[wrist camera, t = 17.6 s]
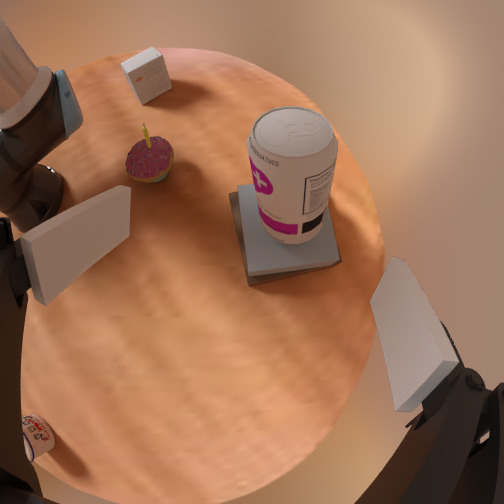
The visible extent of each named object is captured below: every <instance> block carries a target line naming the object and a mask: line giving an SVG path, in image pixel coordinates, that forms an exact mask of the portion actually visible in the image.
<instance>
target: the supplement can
mask: <svg viewBox="0 0 504 504" xmlns="http://www.w3.org/2000/svg"><path fill="white" fill-rule="evenodd" d="M247 147H248V153H249V159H250V164H251V170H252V175H253V181H254V187H255V192H256V198H257V204H258V210H259V215H260V221H261V225H262V227H263V229H264V230H265V232H266V233H267V234H268V235H269V236H270V237H272V238H273V239H274V240H276V241H279V242H282V243H285V244H300V243H303V242H306V241H309V240H311V239H312V238H313V237H314V236H316V235H317V234H318V233H319V231H320V229H321V228H322V226H323V223H324V218H325V214H326V209H327V204H328V200H329V195H330V190H331V185H332V180H333V174H334V169H335V164H336V158H337V152H338V141H337V139H336V137H335V135H334V133H333V129H332V127H331V125H330V123H329V121H328V120H327V119H326V118H325V117H324V116H322V115H321V114H320V113H318V112H316V111H313V110H311V109H308V108H303V107H298V106H283V107H279V108H274V109H271V110H269V111H267V112H265V113H263V114H261V115H260V116H259V117H258V118H257V119H256V120H255V122H254V124H253V127H252V130H251V132H250V134H249V137H248V140H247Z"/></svg>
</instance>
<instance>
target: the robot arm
mask: <svg viewBox="0 0 504 504" xmlns="http://www.w3.org/2000/svg"><path fill="white" fill-rule="evenodd" d="M82 123H83V115H82V112H81V109H80V106H79V103H78V101H77V98H76V96H75V93H74V91H73V88H72V86H71V83H70V81H69V79H68V76H67V74H66V72H65V71H64V70H63V69H62V70H59V71H56V72H55V73H54V74H53V72H52V71H51V69H50V68H48V67H47V66H41V67H35V65H34V64H33V62H32V61H31V60H30V58H29V57H28V56H27V54H26V53H25V51H24V50H23V49H22V47H21V46H20V44H19V43H18V42H17V40H16V39H15V37H14V36H13V34H12V33H11V31H10V30H9V28H8V27H7V25H6V24H5V22H4V21H3V19H2V18H1V16H0V212H2V213H4V214H6V215H7V217H8V218H6V217H1V218H0V504H59V503H56V502H53V501H51V500H48V499H46V498H43V495H42V491H41V488H40V484H39V480H38V477H37V474H36V472H35V469H34V467H33V466H32V464H31V462H30V461H29V459H28V457H27V454H26V450H25V444H24V436H23V427H22V415H21V391H20V378H21V353H22V341H23V331H24V323H25V316H26V309H27V303H28V294H27V290H28V289H29V288H30V287H31V288H32V291H33V294H34V298H35V299H36V300H37V301H39V302H40V303H42V304H44V305H45V306H47V305H48V304H49V303H50V302H51V301H53V300H54V299H55V298H56V297H57V296H58V295H59V294H60V293H61V292H62V291H64V290H65V289H66V288H67V287H68V286H69V285H70V284H71V283H73V282H74V281H75V280H76V279H77V278H78V277H80V276H81V275H82V274H83V273H84V272H85V271H87V270H88V269H89V268H90V267H91V266H93V265H94V264H95V263H96V262H97V261H99V260H100V259H101V258H102V257H104V256H105V255H106V254H107V253H109V252H110V251H111V250H112V249H114V248H115V247H116V246H117V245H119V244H120V243H121V242H123V241H124V240H125V239H127V238H128V237H129V236H130V200H131V187H127V186H122V185H118V186H116V187H114V188H111V189H109V190H107V191H105V192H102V193H100V194H98V195H96V196H94V197H92V198H90V199H88V200H85V201H83V202H81V203H79V204H77V205H75V206H73V207H71V208H69V209H67V210H66V211H64V212H62V213H60V214H58V215H56V213H57V211H58V208H59V206H60V203H61V200H62V195H63V181H62V178H61V176H60V175H59V173H57V172H56V171H55V170H54V169H53V168H51V167H48V166H44V165H41V164H37V163H38V162H39V161H40V160H41V159H43V158H44V157H45V156H46V155H47V154H48V153H50V152H51V151H52V150H53V149H55V148H56V147H57V146H58V145H60V144H61V143H62V142H64V141H65V140H67V139H68V138H69V136H70V135H71V134H73V133H74V132H75V131H76V130H78V129H79V128H80V127H81V125H82ZM55 215H56V216H55ZM10 220H11V221H12V223H13V224H14V225H15V227H16V228H17V229H18V230H19V231H21V232H23V233H25V234H23V235H21V236H20V238H19V239H17V240H16V241H14V239H13V234H12V228H11V222H10ZM369 302H370V305H371V309H372V312H373V316H374V319H375V323H376V327H377V331H378V334H379V338H380V342H381V346H382V350H383V354H384V359H385V363H386V367H387V372H388V377H389V382H390V387H391V392H392V397H393V402H394V408H395V412H412V411H413V410H414V409H415V408H416V407H417V406H418V405H419V404H420V403H421V402H422V406H423V411H422V412H421V413H420V414H419V415H417V416H416V417H415V418H414V419H413V420H412V421H410V422H409V423H408V424H407V425H406V426H405V427H406V428H408V427H409V426H410V425H412V426H411V428H410V430H409V431H408V433H407V434H406V436H405V437H404V439H403V441H402V442H401V444H400V445H399V447H398V448H397V450H396V451H395V453H394V454H393V456H392V457H391V458H390V460H389V461H388V463H387V464H386V465H385V467H384V468H383V470H382V471H381V472H380V473H379V475H378V476H377V477H376V479H375V480H374V481H373V482H372V484H371V485H370V486H369V487H368V488H367V490H366V491H365V492H364V493H363V494H362V495H361V497H360V498H359V499H358V500H357V501H356V502H355V503H354V504H504V383H500V384H499V385H498V386H497V387H496V388H495V389H494V390H493V391H491V390H488V389H486V388H485V384H484V381H483V379H482V378H481V376H480V375H479V374H478V373H477V372H476V371H474V370H473V369H470V368H465V367H464V364H463V362H462V360H461V358H460V355H459V353H458V351H457V349H456V347H455V345H454V343H453V341H452V338H450V334H449V332H448V330H447V328H446V327H445V326H444V324H443V323H442V322H441V321H440V320H439V319H438V317H437V315H436V313H435V311H434V309H433V307H432V305H431V304H430V302H429V300H428V298H427V296H426V295H425V293H424V291H423V289H422V288H421V286H420V284H419V283H418V281H417V279H416V278H415V276H414V274H413V273H412V271H411V269H410V268H409V266H408V265H407V263H406V261H405V260H403V259H400V258H397V257H394V256H392V257H391V259H390V261H389V263H388V266H387V268H386V269H385V272H384V274H383V276H382V278H381V280H380V282H379V284H378V286H377V288H376V290H375V292H374V294H373V296H372V298H371V300H370V301H369ZM489 431H490V433H489V434H490V435H489V438H488V439H487V440H485V441H484V442H483V443H481V444H480V438H481V437H482V436H484V435H485V434H486V433H487V432H489Z"/></svg>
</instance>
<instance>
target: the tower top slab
mask: <svg viewBox="0 0 504 504" xmlns="http://www.w3.org/2000/svg"><path fill="white" fill-rule="evenodd" d="M238 196H239V205H240V213H241V221H242V228H243V236H244V244H245V252H246V259H247V267H248V275H249V276H257V275H265V274H273V273H280V272H287V271H295V270H302V269H309V268H316V267H323V266H330V265H332V264H334V263H335V262H337V261H338V260H340V259H339V254H338V249H337V244H336V239H335V234H334V230H333V225H332V220H331V216H330V212H329V207H328V204H327V209H326V214H325V218H324V223H323V226H322V228H321V229H320V231H319V233H318V234H317V235H316V236H314V237H313V238H312V239H311V240H309V241H306V242H303V243H300V244H285V243H282V242H279V241H276V240H274V239H273V238H272V237H270V236H269V235H268V234H267V233H266V232H265V230H264V229H263V227H262V225H261V221H260V215H259V210H258V204H257V198H256V192H255V187H254V184H249V185H240V186H238Z"/></svg>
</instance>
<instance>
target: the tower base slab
mask: <svg viewBox="0 0 504 504" xmlns="http://www.w3.org/2000/svg"><path fill="white" fill-rule="evenodd" d="M229 198H230V204H231V209H232V213H233V218H234V222H235V227H236V231H237V236H238V240H239V245H240V249H241V254H242V258H243V263H244V267H245V272H246V276H247V280H248V285H249V286H253V285H258V284H262V283H266V282H271V281H275V280H279V279H284V278H288V277H292V276H296V275H300V274H305V273H309V272H313V271H317V270H321V269H325V268H329V267H333V266H336V265H337V264H339V263H341V262H342V260H341V256H340V253H339V249H338V246H337V249H338V254H339V259H340V260H338V261H337V262H335V263H334V264H332V265H330V266H323V267H316V268H309V269H302V270H295V271H287V272H280V273H273V274H265V275H257V276H249V275H248V267H247V259H246V252H245V244H244V236H243V228H242V221H241V213H240V205H239V196H238V192H233V193H229ZM336 244H337V243H336Z"/></svg>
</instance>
